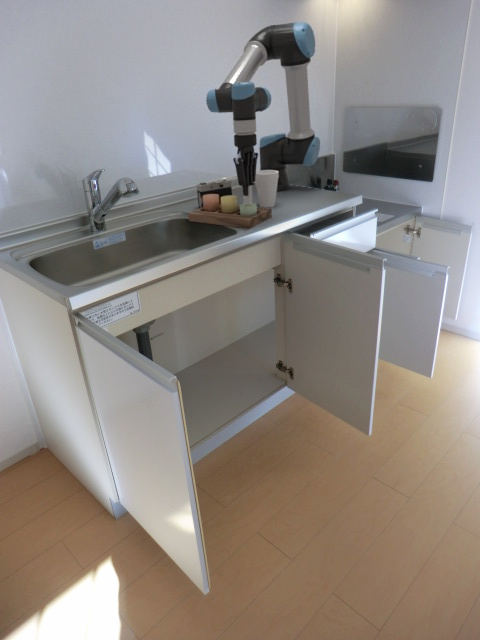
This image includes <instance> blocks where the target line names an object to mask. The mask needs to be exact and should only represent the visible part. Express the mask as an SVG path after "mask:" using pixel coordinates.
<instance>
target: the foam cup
mask: <svg viewBox="0 0 480 640" xmlns="http://www.w3.org/2000/svg"><path fill="white" fill-rule="evenodd" d="M278 178H279V172H278V171H276V170H261V171H260V170H256V178H255V182H254V183H255V189H256V194H257V201H258V206H259V208H272V207H274V206H276V199H277V192H278V191H277V183H278Z"/></svg>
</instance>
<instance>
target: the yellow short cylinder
mask: <svg viewBox="0 0 480 640" xmlns="http://www.w3.org/2000/svg"><path fill="white" fill-rule="evenodd" d="M238 206H239V205H238V196H237V195H233V194H232V195H229V196H223V197H221V210H222V212H223V213H234V212H237V211H238Z"/></svg>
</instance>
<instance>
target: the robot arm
mask: <svg viewBox="0 0 480 640" xmlns="http://www.w3.org/2000/svg"><path fill="white" fill-rule="evenodd" d="M315 47H316V38H315V34H314V30H313V28H312V26H311V25H310V24H309V23H308V22H302V21H301V22H299V21H297V22H289V23H281V24H273V25H272V24H270V25H268V26H266V27H263V28H262V29H260V30H259V31H257V32H256V33H255V34H253V36H252V37H251V38H250V39H249V40H248V41H247V43H245V46H244V48H243V53H242V55H241V56H240V58H239V59H238V60H237V62H236V63H235V65H234V66H233V68H232V69H231V71H230V72H229V73H228V75H227V76H226V77H225V79H224V80H223V82H222V83H221V85H220V86H219V88H214V89H210V90H208V91H207V94H206V97H205V98H206V102H205V103H206V105H207V108H208V110H209V111H210V112H211V113H219V114H223V113H224V114H225V113H232V121H233V123H232V124H233V133H234V136H233V144H234V147H236V148H237V152H236V157H233V159H232V160H233V164H234V165H235V172H236V176H237V183H238V185H239V186H241V187H242V197H243V203H244V205H251V204H252V203H253V188H252V187H253V186H255V185H256V183H255V178H256V171H257V163H258V156H259V165H260V167H259V168H260V170H259V171H261V170H276V171H278V172H279V178H278V183H277V192H281V191H286V190H289V189H290V188H291V183H290V179H289V175H288V173H287V172H288V171H287V166H303V167H304V166H313V165H314V164H315V163H316V162H317V160H318V157H319V154H320V148H321V140H320V137H319V136H316V135H315V130H313V128H312V127H311V113H310V112H311V111H310V95H309V80H308V79H309V78H308V66H309V64H310V63H311V58H312V57H313V56H314V55H315V51H316V48H315ZM273 60H279V62H280V67H281V68H282V69H284V72H285V84H286V86H285V87H286V94H287V95H286V96H287V107H288V119H289V131H288V133H285V132H284V133H283V132H282V133H276V134H270V135H269V134H268V135H265V136H262V137H261V138H260V139H259V148H258V149H259V153H258V152H255V147H256V146H257V144H258V143H257V140H258V139H257V134H256V132H257V120H256V119H257V114H256V113H257V112H264V111H265V110H267V109H268V108H269V107H270V106H271V104H272V94H271V93H270V91H269V90H268V88H266V87H263V86H255V83H254V82H253V81H251V80H252V78H253V77H254V75H255V74H256V72H257V71H258V69H259V68H260V67H262V66H263V65H265V63H266V62H268V61H273ZM286 134H287V135H286Z"/></svg>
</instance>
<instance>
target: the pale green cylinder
mask: <svg viewBox="0 0 480 640" xmlns="http://www.w3.org/2000/svg"><path fill="white" fill-rule="evenodd" d="M239 206H240V215H244V216H254V215H256V214H257V208H258V206H257V203H255V202H252V204H251V205H244V202H242V203H240V204H239Z"/></svg>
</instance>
